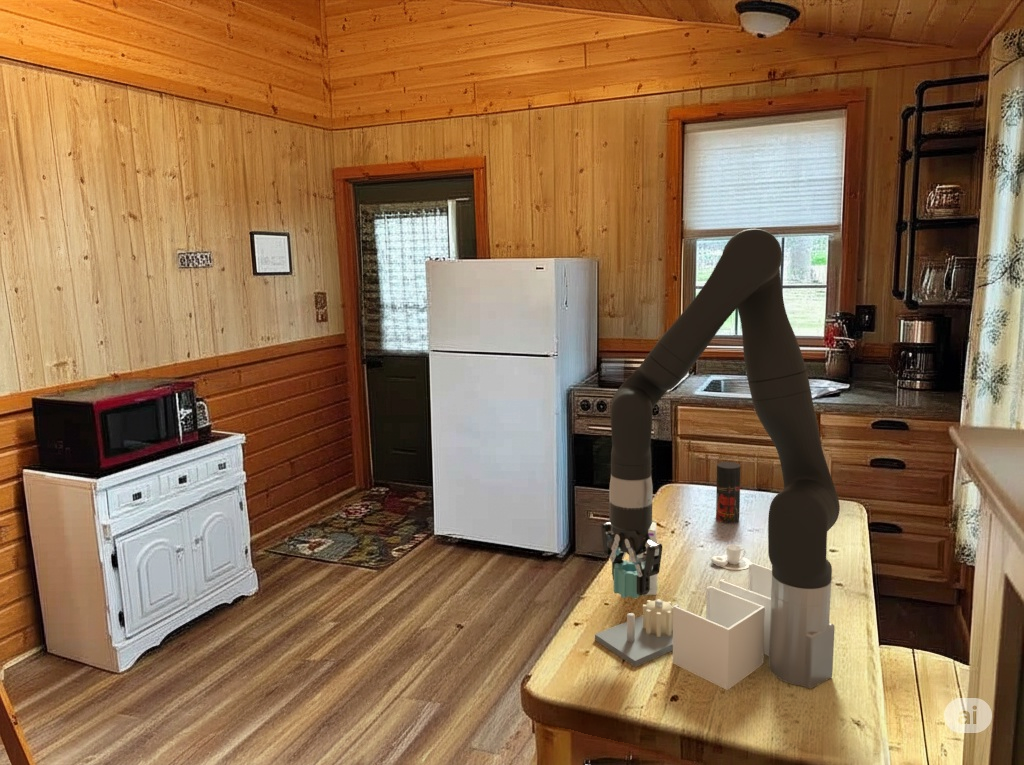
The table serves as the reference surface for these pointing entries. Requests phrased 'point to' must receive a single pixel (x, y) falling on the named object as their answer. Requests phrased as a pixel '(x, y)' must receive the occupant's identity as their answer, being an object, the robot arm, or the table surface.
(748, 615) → the white folded wall panels
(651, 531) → the syrup box
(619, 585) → the gear
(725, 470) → the deodorant
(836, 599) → the table surface
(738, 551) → the teacup and saucer
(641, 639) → the board
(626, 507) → the robot arm
